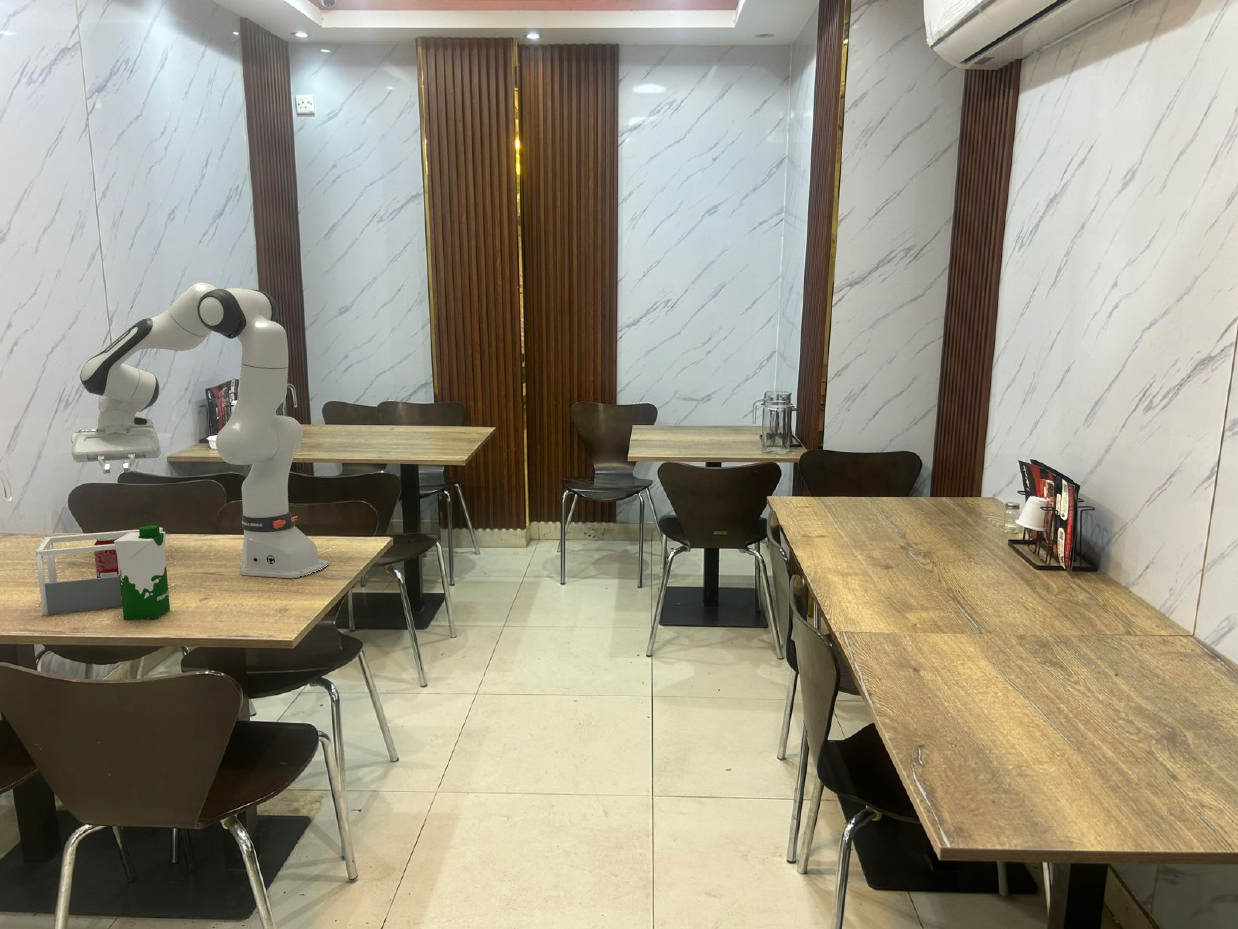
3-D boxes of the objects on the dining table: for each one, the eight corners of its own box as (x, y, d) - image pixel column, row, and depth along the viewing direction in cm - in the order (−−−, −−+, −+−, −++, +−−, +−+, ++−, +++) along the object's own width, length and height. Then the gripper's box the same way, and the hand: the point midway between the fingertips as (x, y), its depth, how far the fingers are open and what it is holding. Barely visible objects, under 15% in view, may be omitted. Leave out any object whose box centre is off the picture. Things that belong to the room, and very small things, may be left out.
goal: (51, 597, 218) (44, 537, 215) (167, 585, 227) (162, 527, 224) (41, 615, 206) (34, 551, 203) (164, 601, 215) (159, 540, 212)
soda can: (119, 588, 225) (114, 540, 222) (92, 588, 225) (87, 540, 223) (134, 580, 231) (130, 533, 229) (107, 579, 231) (103, 533, 229)
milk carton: (159, 620, 202) (151, 531, 199) (116, 621, 202) (107, 532, 198) (176, 607, 211) (168, 522, 207) (135, 608, 211) (127, 522, 207)
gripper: (69, 423, 238) (68, 467, 231) (158, 419, 246) (159, 461, 239) (74, 438, 243) (72, 481, 236) (160, 433, 251) (161, 475, 244)
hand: (116, 471), depth 238 cm, fingers open, 3 cm apart
